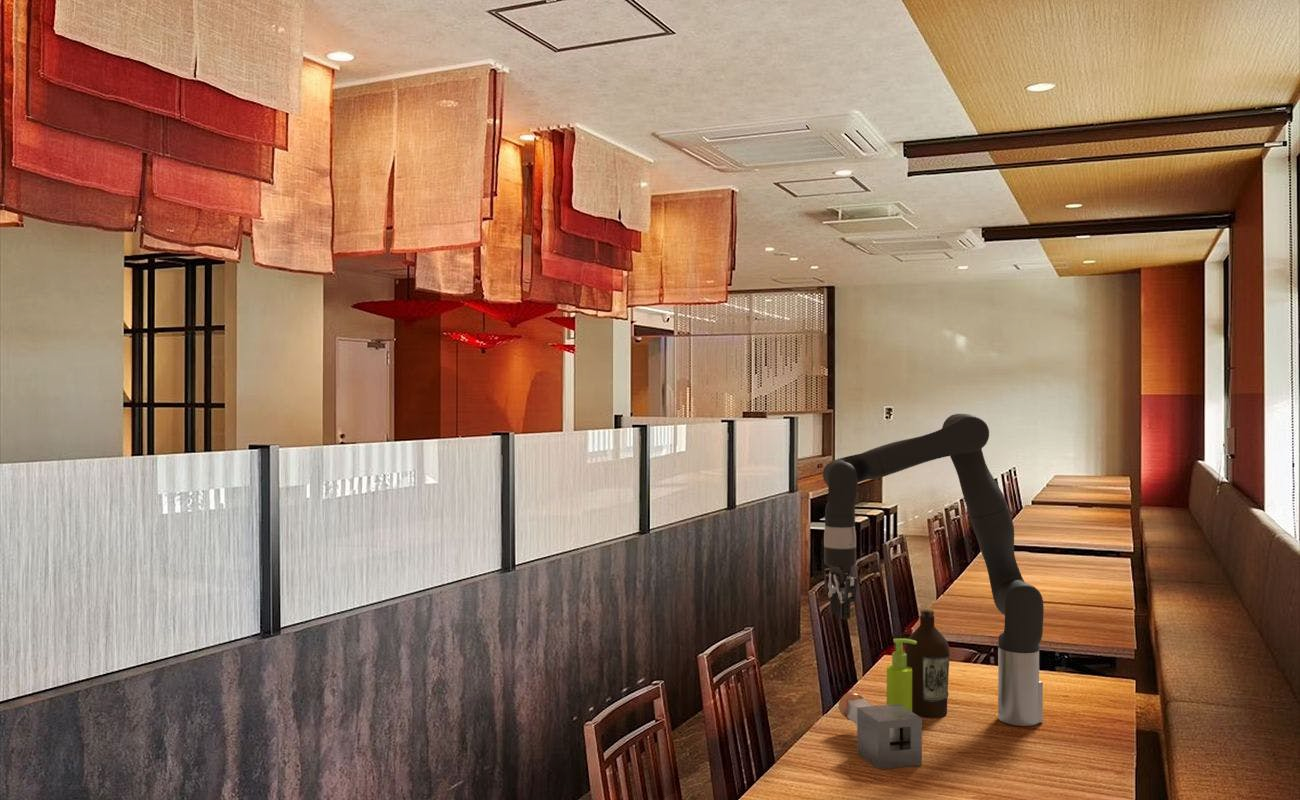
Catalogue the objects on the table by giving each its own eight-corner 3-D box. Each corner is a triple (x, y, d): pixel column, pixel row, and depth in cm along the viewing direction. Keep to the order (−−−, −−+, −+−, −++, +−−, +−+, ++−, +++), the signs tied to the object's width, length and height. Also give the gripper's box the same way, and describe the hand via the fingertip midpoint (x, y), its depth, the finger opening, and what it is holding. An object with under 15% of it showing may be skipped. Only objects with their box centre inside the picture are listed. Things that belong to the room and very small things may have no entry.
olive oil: (896, 708, 258) (896, 607, 258) (934, 704, 261) (934, 604, 261) (919, 721, 248) (919, 616, 248) (958, 716, 251) (958, 613, 251)
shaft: (862, 716, 242) (862, 691, 242) (904, 745, 222) (904, 717, 222) (838, 718, 240) (838, 693, 240) (878, 748, 221) (878, 719, 221)
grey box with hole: (899, 749, 229) (899, 703, 228) (921, 765, 219) (921, 717, 219) (857, 753, 226) (857, 707, 226) (878, 769, 216) (878, 721, 216)
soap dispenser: (917, 728, 243) (917, 642, 243) (886, 726, 244) (887, 641, 244) (916, 720, 248) (916, 637, 248) (886, 718, 250) (886, 635, 250)
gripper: (868, 548, 240) (868, 622, 240) (841, 540, 254) (841, 609, 254) (838, 550, 238) (838, 623, 239) (813, 541, 252) (813, 610, 252)
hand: (839, 615), depth 246 cm, fingers open, 5 cm apart
